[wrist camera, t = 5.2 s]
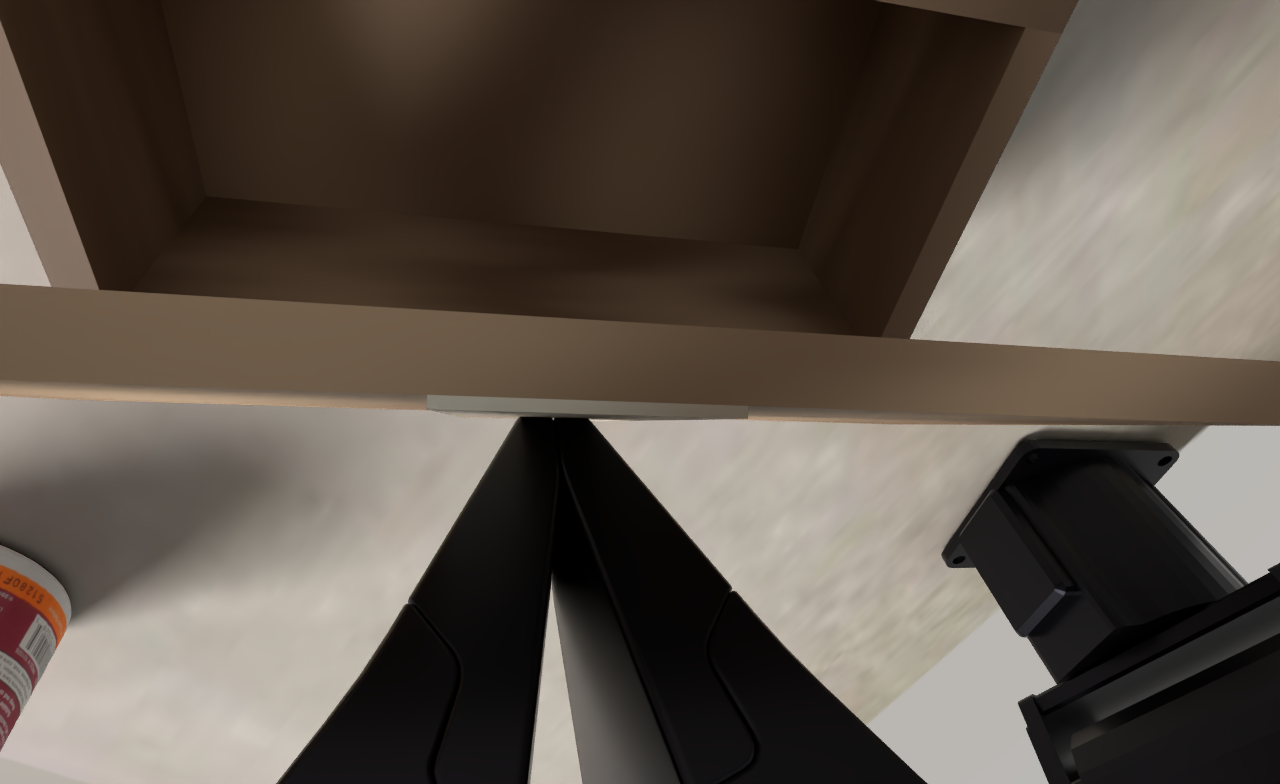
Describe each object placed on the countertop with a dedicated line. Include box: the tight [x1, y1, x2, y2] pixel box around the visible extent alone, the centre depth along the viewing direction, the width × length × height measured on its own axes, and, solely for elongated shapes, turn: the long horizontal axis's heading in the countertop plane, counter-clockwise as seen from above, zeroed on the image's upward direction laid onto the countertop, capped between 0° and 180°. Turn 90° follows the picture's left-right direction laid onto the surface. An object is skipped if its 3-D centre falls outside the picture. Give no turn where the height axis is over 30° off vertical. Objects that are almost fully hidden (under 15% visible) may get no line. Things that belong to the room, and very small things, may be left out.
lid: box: [0, 284, 1280, 426], centre depth 9 cm, size 14×7×1 cm
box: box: [0, 0, 1078, 339], centre depth 12 cm, size 14×7×5 cm, turn 80°
